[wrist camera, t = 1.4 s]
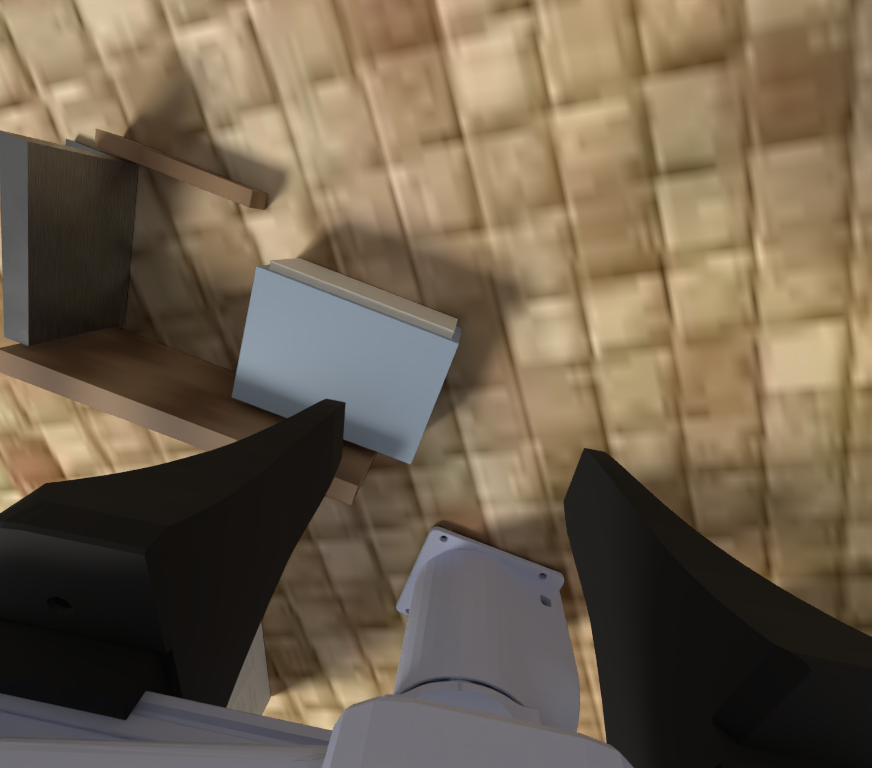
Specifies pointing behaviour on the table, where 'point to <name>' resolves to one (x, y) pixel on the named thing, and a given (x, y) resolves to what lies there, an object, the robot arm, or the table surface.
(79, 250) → the bookend
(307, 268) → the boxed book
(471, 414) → the table surface
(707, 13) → the table surface
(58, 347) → the shelf
